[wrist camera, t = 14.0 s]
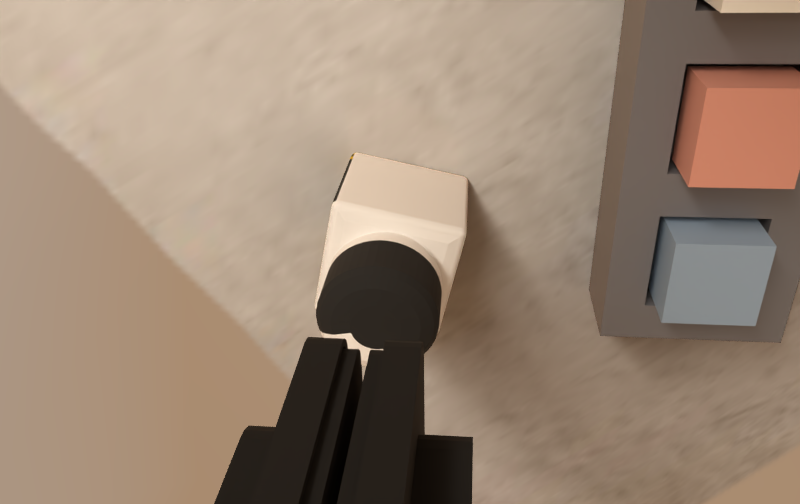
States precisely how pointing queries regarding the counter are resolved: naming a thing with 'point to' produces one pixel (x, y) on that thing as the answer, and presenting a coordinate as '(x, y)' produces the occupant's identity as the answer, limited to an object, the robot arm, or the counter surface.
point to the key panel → (660, 178)
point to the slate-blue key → (710, 270)
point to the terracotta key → (739, 127)
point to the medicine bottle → (390, 253)
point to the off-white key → (756, 6)
